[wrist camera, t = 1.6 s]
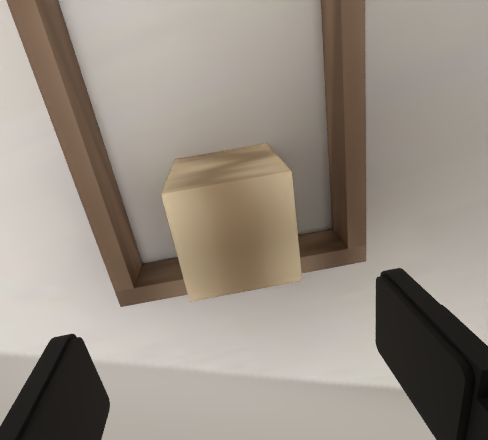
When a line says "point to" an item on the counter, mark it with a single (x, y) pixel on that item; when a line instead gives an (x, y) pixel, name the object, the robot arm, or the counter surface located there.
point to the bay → (103, 181)
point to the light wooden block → (233, 221)
